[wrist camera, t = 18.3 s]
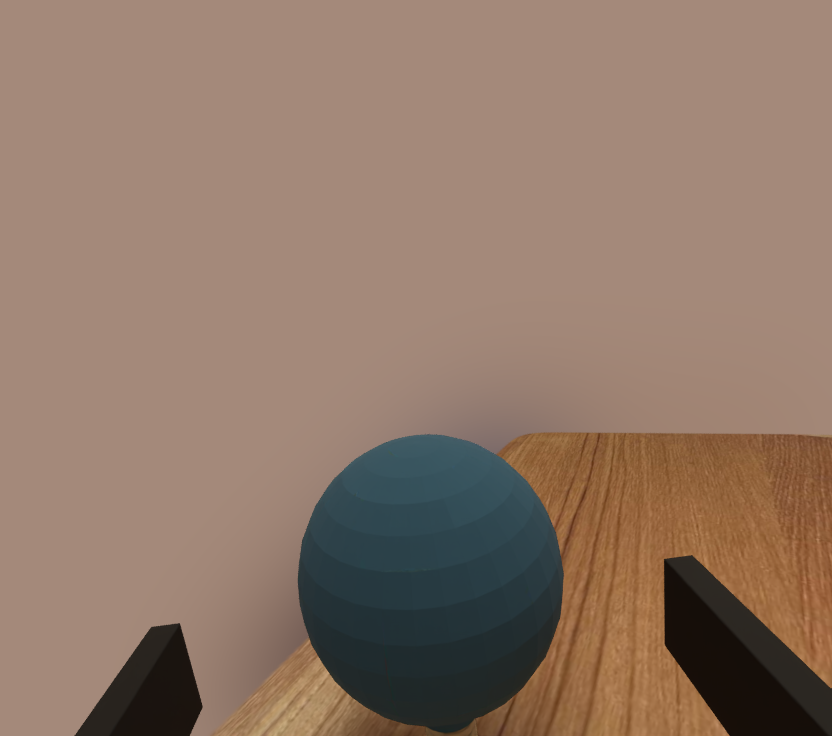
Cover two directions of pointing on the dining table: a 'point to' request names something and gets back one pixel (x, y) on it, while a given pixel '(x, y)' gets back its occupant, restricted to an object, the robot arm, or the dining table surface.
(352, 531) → the dark teal ovoid
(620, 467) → the dining table surface
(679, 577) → the robot arm
